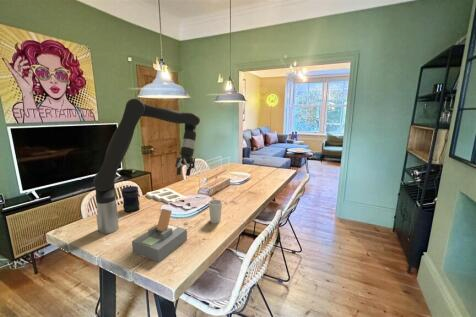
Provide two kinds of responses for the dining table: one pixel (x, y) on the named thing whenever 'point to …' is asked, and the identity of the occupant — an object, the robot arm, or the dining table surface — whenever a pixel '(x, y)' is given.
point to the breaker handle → (163, 221)
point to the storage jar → (130, 199)
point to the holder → (163, 192)
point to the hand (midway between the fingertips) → (182, 175)
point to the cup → (215, 210)
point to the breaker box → (159, 242)
